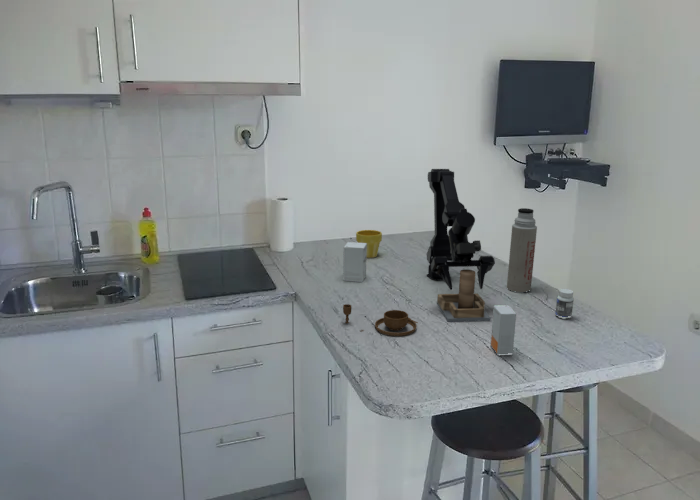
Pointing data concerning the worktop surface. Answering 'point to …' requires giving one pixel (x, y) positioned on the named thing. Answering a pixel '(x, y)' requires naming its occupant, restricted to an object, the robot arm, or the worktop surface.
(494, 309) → the skincare box
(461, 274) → the walnut peg
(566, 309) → the pill bottle
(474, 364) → the worktop surface
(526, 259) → the thermos bottle
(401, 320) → the place setting
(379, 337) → the worktop surface
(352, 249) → the supplement box
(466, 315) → the keyhole plate
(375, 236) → the plant pot
